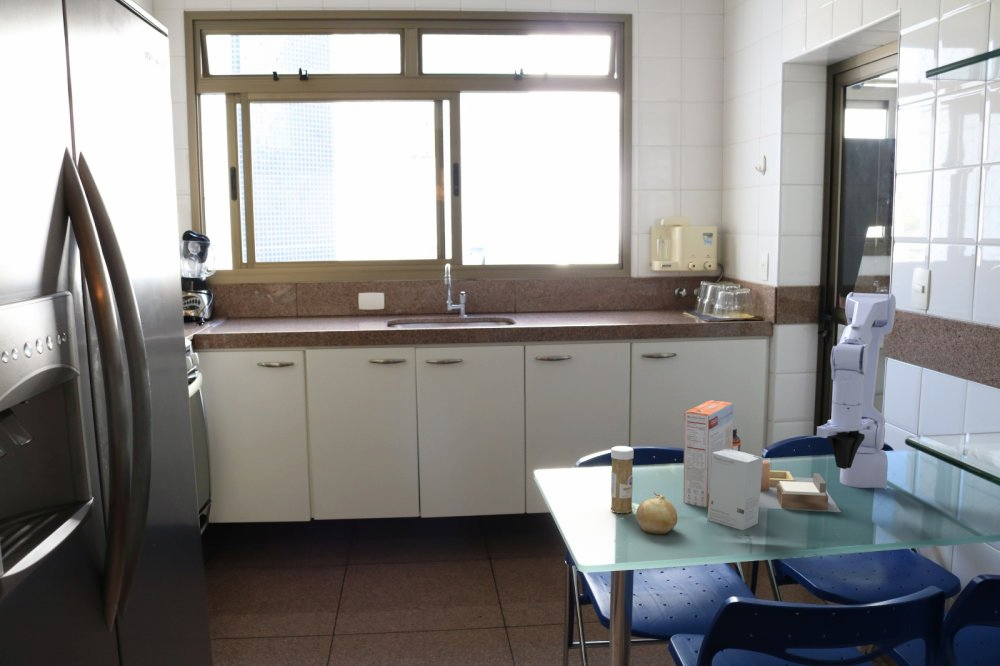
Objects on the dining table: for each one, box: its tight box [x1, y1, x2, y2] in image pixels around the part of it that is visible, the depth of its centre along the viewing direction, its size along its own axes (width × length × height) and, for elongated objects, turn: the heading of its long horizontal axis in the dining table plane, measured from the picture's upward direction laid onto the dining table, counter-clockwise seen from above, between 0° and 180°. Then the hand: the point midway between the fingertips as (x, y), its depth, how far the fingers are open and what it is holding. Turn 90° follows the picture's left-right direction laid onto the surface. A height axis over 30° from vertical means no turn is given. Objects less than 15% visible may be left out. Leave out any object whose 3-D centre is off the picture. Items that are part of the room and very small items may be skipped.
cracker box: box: [682, 399, 734, 509], centre depth 181 cm, size 14×6×21 cm, turn 145°
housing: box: [776, 484, 828, 511], centre depth 177 cm, size 9×7×3 cm
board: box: [759, 469, 842, 513], centre depth 184 cm, size 16×23×3 cm
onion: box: [635, 491, 679, 535], centre depth 165 cm, size 8×8×7 cm
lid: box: [779, 472, 827, 496], centre depth 176 cm, size 8×7×3 cm
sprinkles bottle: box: [610, 445, 634, 514], centre depth 175 cm, size 5×5×14 cm
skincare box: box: [706, 449, 764, 531], centre depth 166 cm, size 8×6×15 cm
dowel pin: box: [760, 459, 771, 491], centre depth 186 cm, size 4×4×6 cm
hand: (843, 467), depth 174 cm, fingers closed
